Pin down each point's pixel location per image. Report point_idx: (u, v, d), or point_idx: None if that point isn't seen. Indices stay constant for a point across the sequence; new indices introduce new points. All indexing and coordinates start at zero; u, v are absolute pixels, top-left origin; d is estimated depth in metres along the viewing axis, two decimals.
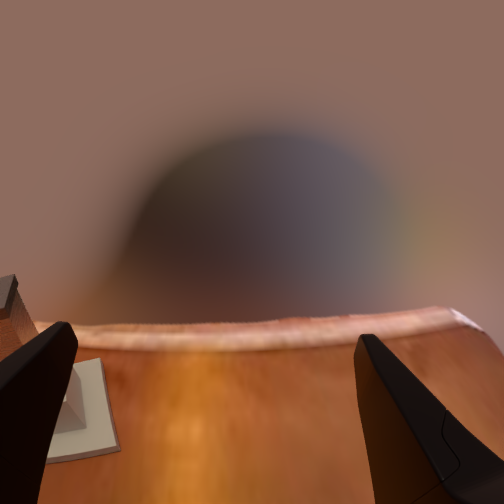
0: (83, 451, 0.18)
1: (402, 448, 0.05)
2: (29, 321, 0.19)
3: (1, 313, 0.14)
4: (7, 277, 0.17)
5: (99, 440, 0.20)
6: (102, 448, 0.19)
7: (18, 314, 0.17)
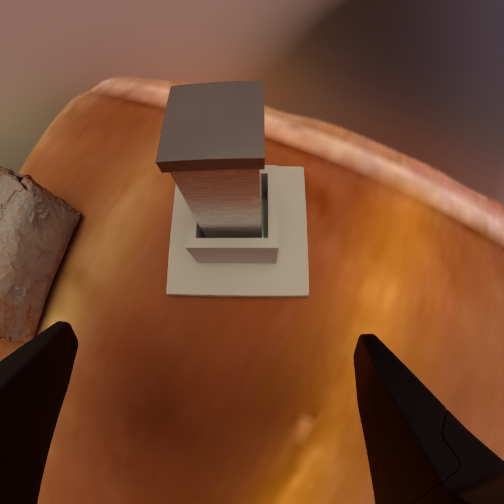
0: (266, 294, 0.22)
1: (402, 448, 0.05)
2: None
3: (253, 163, 0.11)
4: (250, 84, 0.12)
5: (290, 284, 0.22)
6: (291, 295, 0.22)
7: None
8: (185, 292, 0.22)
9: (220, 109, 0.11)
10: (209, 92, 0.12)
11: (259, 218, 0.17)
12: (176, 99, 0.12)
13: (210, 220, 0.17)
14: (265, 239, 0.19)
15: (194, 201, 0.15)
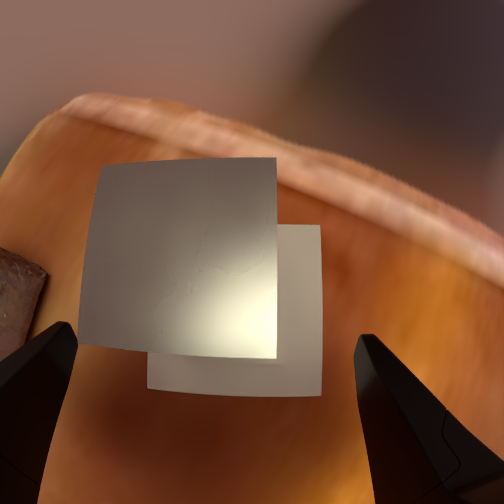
0: (269, 395, 0.17)
1: (402, 448, 0.05)
2: None
3: None
4: (248, 167, 0.06)
5: (298, 383, 0.17)
6: (299, 395, 0.17)
7: None
8: (170, 388, 0.17)
9: (187, 231, 0.06)
10: (169, 184, 0.06)
11: None
12: (108, 199, 0.06)
13: None
14: None
15: None
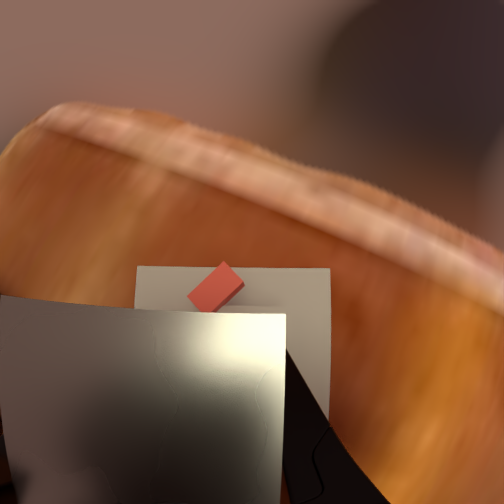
0: None
1: None
2: None
3: None
4: (231, 335, 0.03)
5: None
6: None
7: None
8: None
9: (131, 445, 0.03)
10: (92, 356, 0.03)
11: None
12: (14, 359, 0.03)
13: None
14: None
15: None
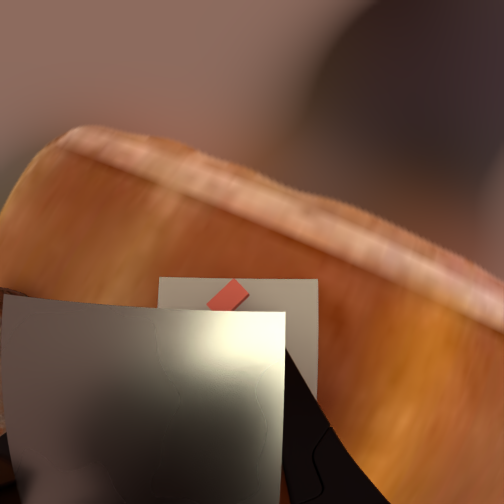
0: None
1: None
2: None
3: None
4: (231, 333, 0.03)
5: None
6: None
7: None
8: None
9: (133, 441, 0.03)
10: (95, 354, 0.03)
11: None
12: (17, 357, 0.03)
13: None
14: None
15: None
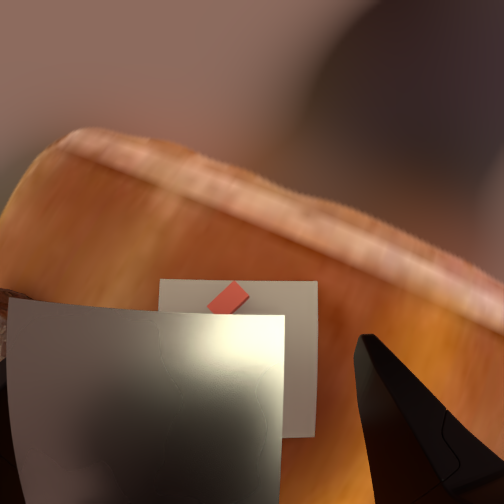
0: None
1: (402, 448, 0.05)
2: None
3: None
4: (232, 335, 0.03)
5: (294, 426, 0.18)
6: (294, 437, 0.17)
7: None
8: None
9: (137, 441, 0.03)
10: (100, 356, 0.03)
11: None
12: (22, 359, 0.03)
13: None
14: None
15: None
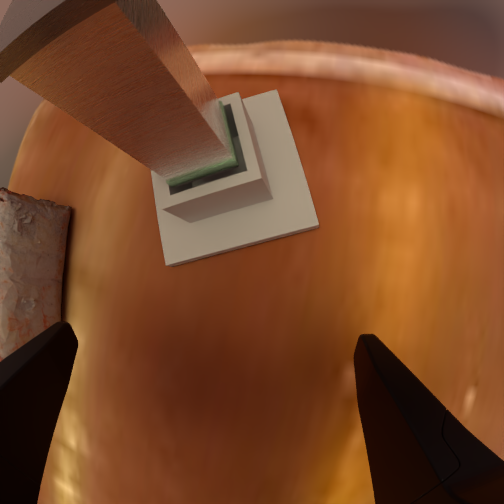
0: (271, 235, 0.19)
1: (402, 448, 0.05)
2: (157, 8, 0.08)
3: None
4: None
5: (294, 218, 0.19)
6: (298, 229, 0.19)
7: None
8: (184, 258, 0.20)
9: None
10: None
11: (194, 108, 0.10)
12: (16, 0, 0.05)
13: (132, 138, 0.11)
14: (244, 172, 0.16)
15: (84, 112, 0.08)
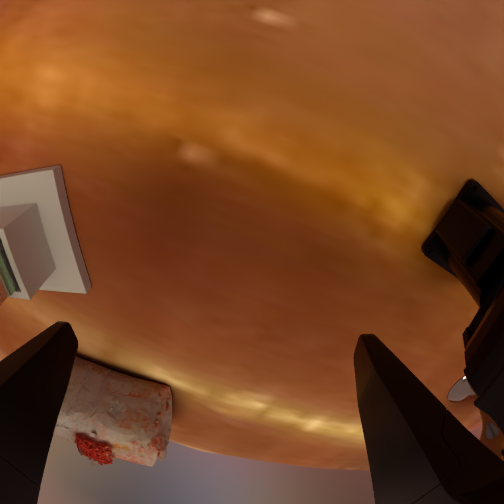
0: (60, 209, 0.19)
1: (402, 448, 0.05)
2: None
3: None
4: None
5: (48, 188, 0.18)
6: (56, 186, 0.18)
7: None
8: (80, 278, 0.22)
9: None
10: None
11: None
12: None
13: None
14: (1, 239, 0.16)
15: None
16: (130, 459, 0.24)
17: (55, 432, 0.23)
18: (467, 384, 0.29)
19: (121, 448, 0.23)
